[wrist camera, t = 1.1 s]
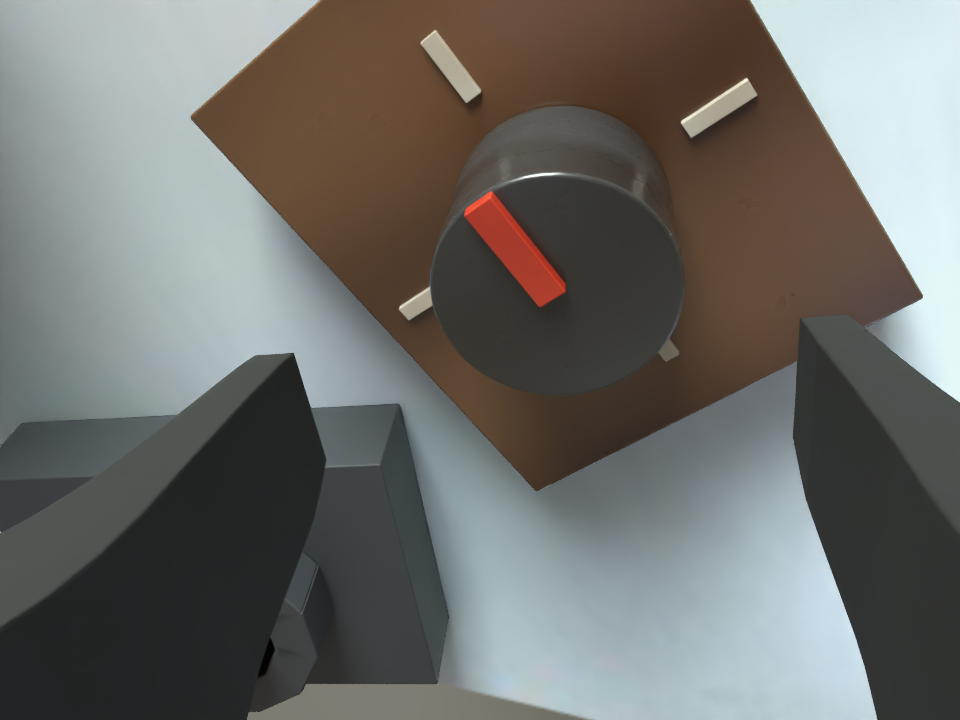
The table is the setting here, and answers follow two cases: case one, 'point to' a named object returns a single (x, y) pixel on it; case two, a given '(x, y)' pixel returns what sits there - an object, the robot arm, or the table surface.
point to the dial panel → (564, 82)
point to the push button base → (326, 554)
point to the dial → (559, 254)
